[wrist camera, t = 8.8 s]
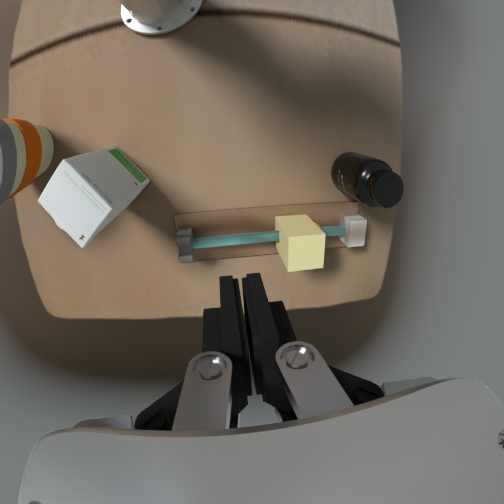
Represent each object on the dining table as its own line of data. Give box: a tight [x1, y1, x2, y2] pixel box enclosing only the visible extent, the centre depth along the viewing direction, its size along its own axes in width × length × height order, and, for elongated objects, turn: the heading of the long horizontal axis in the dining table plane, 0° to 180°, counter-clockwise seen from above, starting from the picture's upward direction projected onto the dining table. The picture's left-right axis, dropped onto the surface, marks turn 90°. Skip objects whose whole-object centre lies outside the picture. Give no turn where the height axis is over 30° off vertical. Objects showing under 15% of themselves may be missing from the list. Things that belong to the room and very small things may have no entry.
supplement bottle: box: [331, 152, 404, 208], centre depth 36 cm, size 7×7×12 cm
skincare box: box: [38, 147, 150, 248], centre depth 30 cm, size 8×7×16 cm
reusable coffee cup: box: [0, 118, 54, 205], centre depth 26 cm, size 13×13×15 cm
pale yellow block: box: [275, 214, 326, 272], centre depth 40 cm, size 5×5×8 cm
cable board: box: [174, 201, 367, 262], centre depth 42 cm, size 8×30×5 cm, turn 93°
